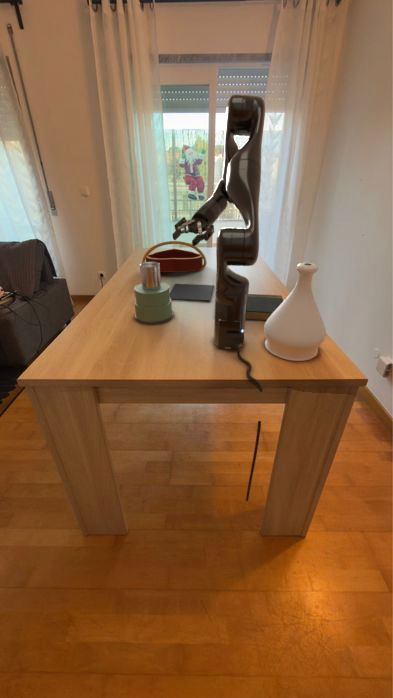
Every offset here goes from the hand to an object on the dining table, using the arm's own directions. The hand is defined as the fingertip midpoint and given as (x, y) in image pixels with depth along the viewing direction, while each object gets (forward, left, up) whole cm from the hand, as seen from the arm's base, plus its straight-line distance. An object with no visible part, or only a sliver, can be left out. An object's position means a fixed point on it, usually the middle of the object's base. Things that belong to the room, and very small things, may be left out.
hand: (183, 240), depth 100 cm
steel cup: (-12, +9, -13) cm, 20 cm away
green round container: (-12, +9, -24) cm, 29 cm away
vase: (-27, -38, -24) cm, 52 cm away
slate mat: (+13, -1, -24) cm, 27 cm away
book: (-2, -26, -24) cm, 36 cm away
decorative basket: (+45, +13, -24) cm, 53 cm away
